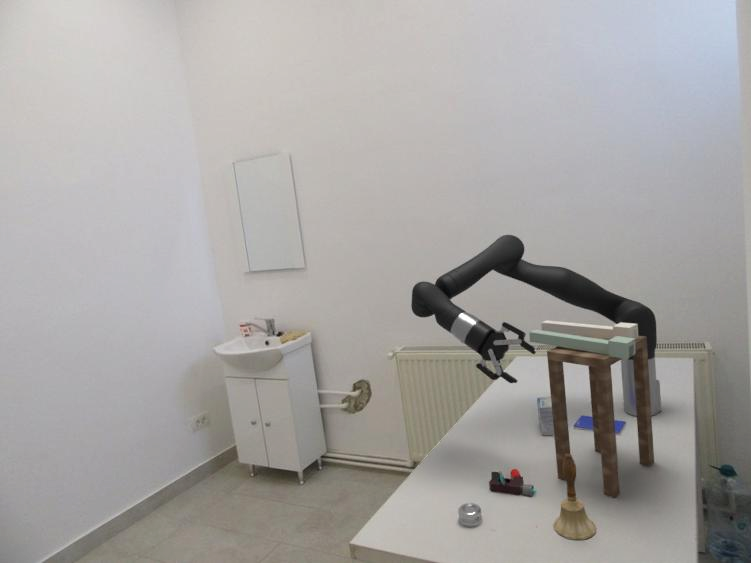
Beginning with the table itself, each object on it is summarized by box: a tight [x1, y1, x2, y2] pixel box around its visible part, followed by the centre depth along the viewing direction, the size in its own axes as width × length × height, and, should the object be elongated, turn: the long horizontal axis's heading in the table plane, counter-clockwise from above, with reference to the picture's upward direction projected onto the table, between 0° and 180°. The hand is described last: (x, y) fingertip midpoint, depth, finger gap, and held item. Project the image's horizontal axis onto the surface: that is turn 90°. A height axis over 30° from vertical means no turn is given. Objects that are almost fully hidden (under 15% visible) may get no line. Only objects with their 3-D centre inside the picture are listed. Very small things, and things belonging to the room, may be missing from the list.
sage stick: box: [529, 329, 635, 359], centre depth 122 cm, size 24×4×4 cm, turn 41°
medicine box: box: [536, 396, 554, 436], centre depth 154 cm, size 8×4×9 cm, turn 168°
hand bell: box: [552, 453, 597, 541], centre depth 108 cm, size 8×8×16 cm
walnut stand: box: [546, 336, 655, 499], centre depth 127 cm, size 14×20×32 cm
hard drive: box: [573, 414, 627, 436], centre depth 153 cm, size 2×8×12 cm
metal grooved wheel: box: [457, 502, 483, 528], centre depth 116 cm, size 5×3×5 cm
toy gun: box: [488, 468, 538, 497], centre depth 128 cm, size 10×12×5 cm
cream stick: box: [540, 319, 638, 340], centre depth 133 cm, size 24×4×4 cm, turn 39°
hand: (525, 367), depth 130 cm, fingers open, 8 cm apart
